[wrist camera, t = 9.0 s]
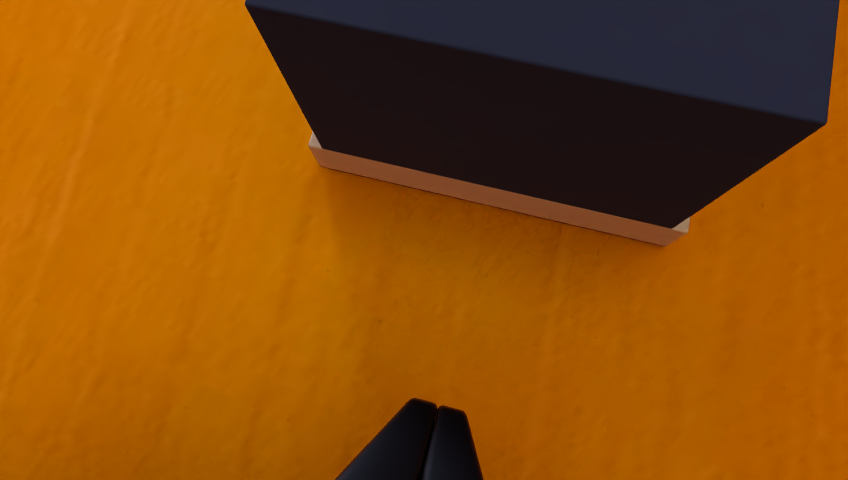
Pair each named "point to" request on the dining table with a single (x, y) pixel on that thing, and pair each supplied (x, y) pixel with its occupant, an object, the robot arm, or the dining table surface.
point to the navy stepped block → (558, 98)
